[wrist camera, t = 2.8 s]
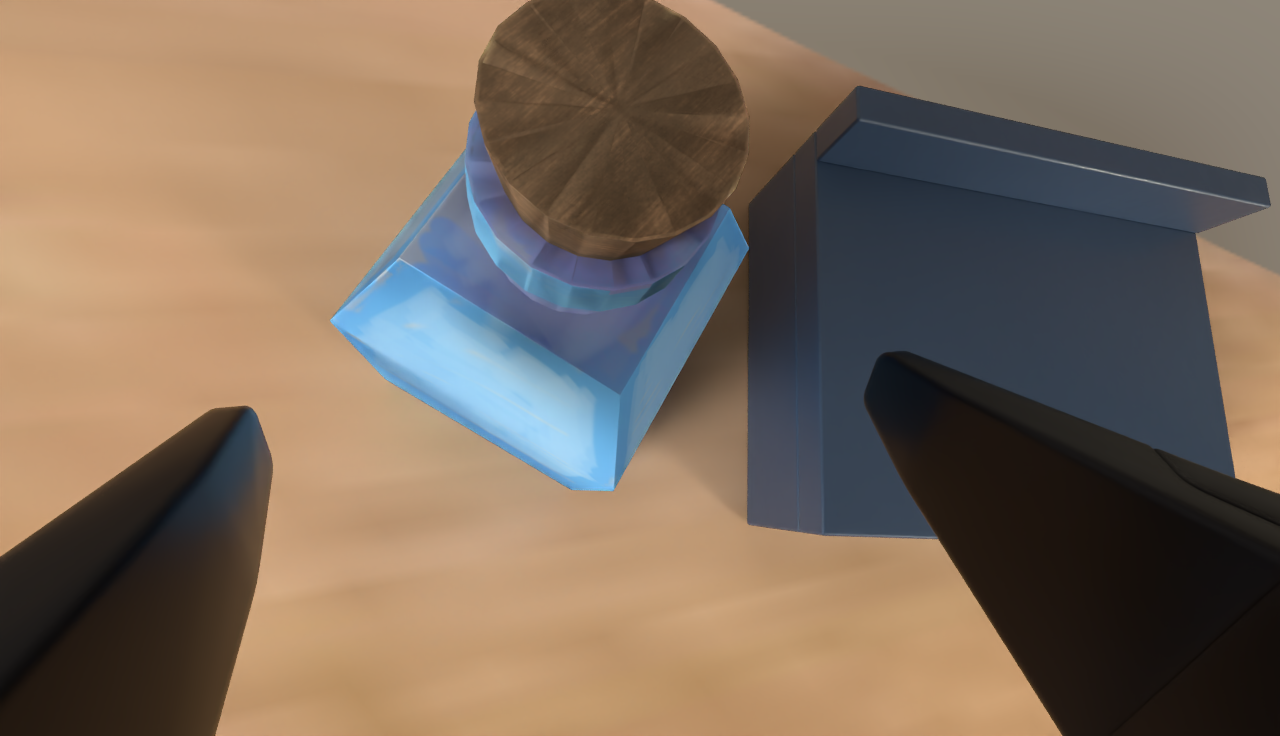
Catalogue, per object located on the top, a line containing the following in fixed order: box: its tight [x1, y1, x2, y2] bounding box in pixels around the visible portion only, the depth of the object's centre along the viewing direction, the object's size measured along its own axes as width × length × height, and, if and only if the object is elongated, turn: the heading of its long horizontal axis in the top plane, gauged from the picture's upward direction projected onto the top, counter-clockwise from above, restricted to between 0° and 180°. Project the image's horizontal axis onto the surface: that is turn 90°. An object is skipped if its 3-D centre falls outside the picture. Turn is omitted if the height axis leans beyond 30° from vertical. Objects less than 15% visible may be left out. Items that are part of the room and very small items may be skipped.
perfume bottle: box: [330, 0, 749, 491], centre depth 12 cm, size 6×6×12 cm
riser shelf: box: [747, 86, 1271, 539], centre depth 18 cm, size 11×14×6 cm
